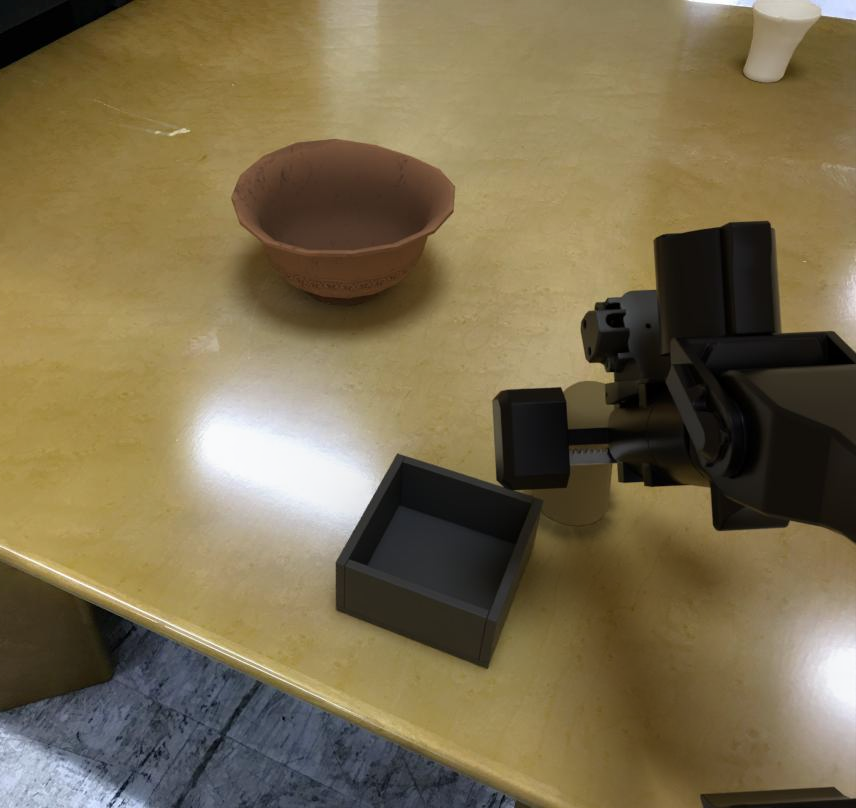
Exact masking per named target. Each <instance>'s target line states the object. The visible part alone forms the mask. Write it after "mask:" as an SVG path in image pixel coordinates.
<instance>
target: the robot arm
mask: <svg viewBox="0 0 856 808" xmlns="http://www.w3.org/2000/svg"><path fill="white" fill-rule="evenodd" d="M776 236H777V235H776V229H775V228H774V227H772V224H771V222H770V221H769V220H752V221H751V220H750V221H748V220H747V221H730V222H727V223H725V224H723V225H721V226H715V227H709V228H708V227H707V228H702V229H695V230H689V231H685V232H674V233H672V232H671V233H663V234H661V235H658V236H656V237H654V239H653V240H652V242H653V256H654V257H653V258H654V275H655V289H639V290H629V291H627V292H625V293H623V295H621V296H618V297H617V296H616V297H615V296H614V297H606V299H605V301H597V302H595V303H594V307H593V310H587V311H586V313H585V314H584V316H583V318H582V319H581V321H580V335H581V342H582V346H583V352H584V358H585V360H586V361H587V362H588V363H589V364H601V365H603V367H604V372H606V373H607V374H608V373H613V382H607V383H606V382H605V400H606V404H607V405H614V410H612V412H611V414H610V416H609V419H608V423H607V427H600V428H578V429H568V421H567V403H566V399H565V396H564V393H563V392H564V390H563V388H562V386H559V387H558V386H555V387H553V386H552V387H535V388H509V389H504V390H500V391H499V392H498V393H497V394H496V396H494V397H493V399H492V400H491V407H492V419H493V420H492V421H493V422H492V424H493V445H494V461H495V462H494V463H495V464H494V465H495V479H496V482H498V484H499V485H500V486H502V487H504V488H505V489H508V490H512V491H532V490H535V489H556V488H567V485H568V481H569V477H570V466H573V465H595V464H613V465H615V464H616V467H617V468H616V469H617V482H618V483H619V484H632V483H633V484H635V483H643V486H644V487H648V488H660V487H683V486H684V487H685V486H693V487H701V488H708V489H710V505H711V520H712V522H711V523H712V527H713V528H714V530H715V531H717V532H730V531H731V532H732V531H733V532H734V531H752V530H753V531H754V530H771V529H772V530H773V529H786V528H787V527H788V526H789V525H790V522H794V523H800V524H804V525H808V526H809V525H810V526H815V527H819V528H824V529H826V530H829V531H831V532H832V533H836V534H838V535H841V536H842V537H844V538H846V539H847V540H848V541H849V542H851V543H853V545H855V546H856V351H855V350H854V349H853V348H852V347H851V346H850V345H849V344H847V342H846V341H845V340H844V339H842V337H841V336H840V335H839V334H838V333H836V332H835V331H834V330H820V331H819V330H817V331H797V332H783V331H782V330H783V329H782V328H783V327H782V315H781V314H782V313H781V299H780V298H781V297H780V282H779V267H778V266H779V265H778V254H777V253H778V252H777V237H776ZM592 444H608V447H606V448H605V451H604V450H603V448H599V450H598V451H597V449H596V448H593V449H592V452H591V450H590V448H586V452H585V451H584V449H580V451H579V452H578V450H577V449H574V450H573V453H572V451H571V449H569V446H571V445H592ZM699 799H700V802H701V805H702V808H856V797H849V796H847V795H844V793H843V792H841V791H840V790H838V788H837V787H835V786H821V787H819V786H818V787H801V788H784V789H765V790H747V791H730V792H729V791H728V792H727V791H726V792H713V793H712V792H710V793H700V794H699Z"/></svg>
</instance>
